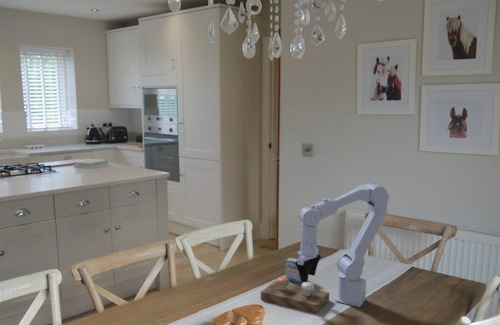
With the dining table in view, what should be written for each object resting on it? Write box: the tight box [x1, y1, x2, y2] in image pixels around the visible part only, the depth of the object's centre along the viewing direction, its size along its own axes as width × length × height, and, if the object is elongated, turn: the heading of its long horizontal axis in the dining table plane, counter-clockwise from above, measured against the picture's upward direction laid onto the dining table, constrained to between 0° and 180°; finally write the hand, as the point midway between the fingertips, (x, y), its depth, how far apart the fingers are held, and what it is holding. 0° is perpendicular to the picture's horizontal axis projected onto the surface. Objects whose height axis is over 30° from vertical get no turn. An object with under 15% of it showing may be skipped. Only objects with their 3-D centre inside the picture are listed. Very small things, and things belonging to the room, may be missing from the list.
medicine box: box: [285, 257, 304, 285], centre depth 178 cm, size 8×4×9 cm, turn 62°
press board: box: [260, 280, 330, 314], centre depth 160 cm, size 22×12×3 cm, turn 60°
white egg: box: [301, 281, 315, 297], centre depth 157 cm, size 4×4×4 cm
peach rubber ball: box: [276, 276, 290, 291], centre depth 162 cm, size 4×4×4 cm
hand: (308, 278), depth 157 cm, fingers open, 6 cm apart
